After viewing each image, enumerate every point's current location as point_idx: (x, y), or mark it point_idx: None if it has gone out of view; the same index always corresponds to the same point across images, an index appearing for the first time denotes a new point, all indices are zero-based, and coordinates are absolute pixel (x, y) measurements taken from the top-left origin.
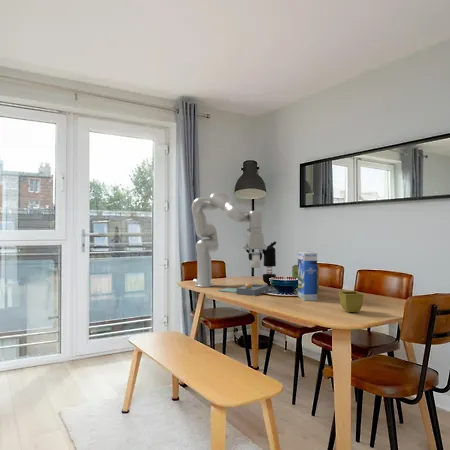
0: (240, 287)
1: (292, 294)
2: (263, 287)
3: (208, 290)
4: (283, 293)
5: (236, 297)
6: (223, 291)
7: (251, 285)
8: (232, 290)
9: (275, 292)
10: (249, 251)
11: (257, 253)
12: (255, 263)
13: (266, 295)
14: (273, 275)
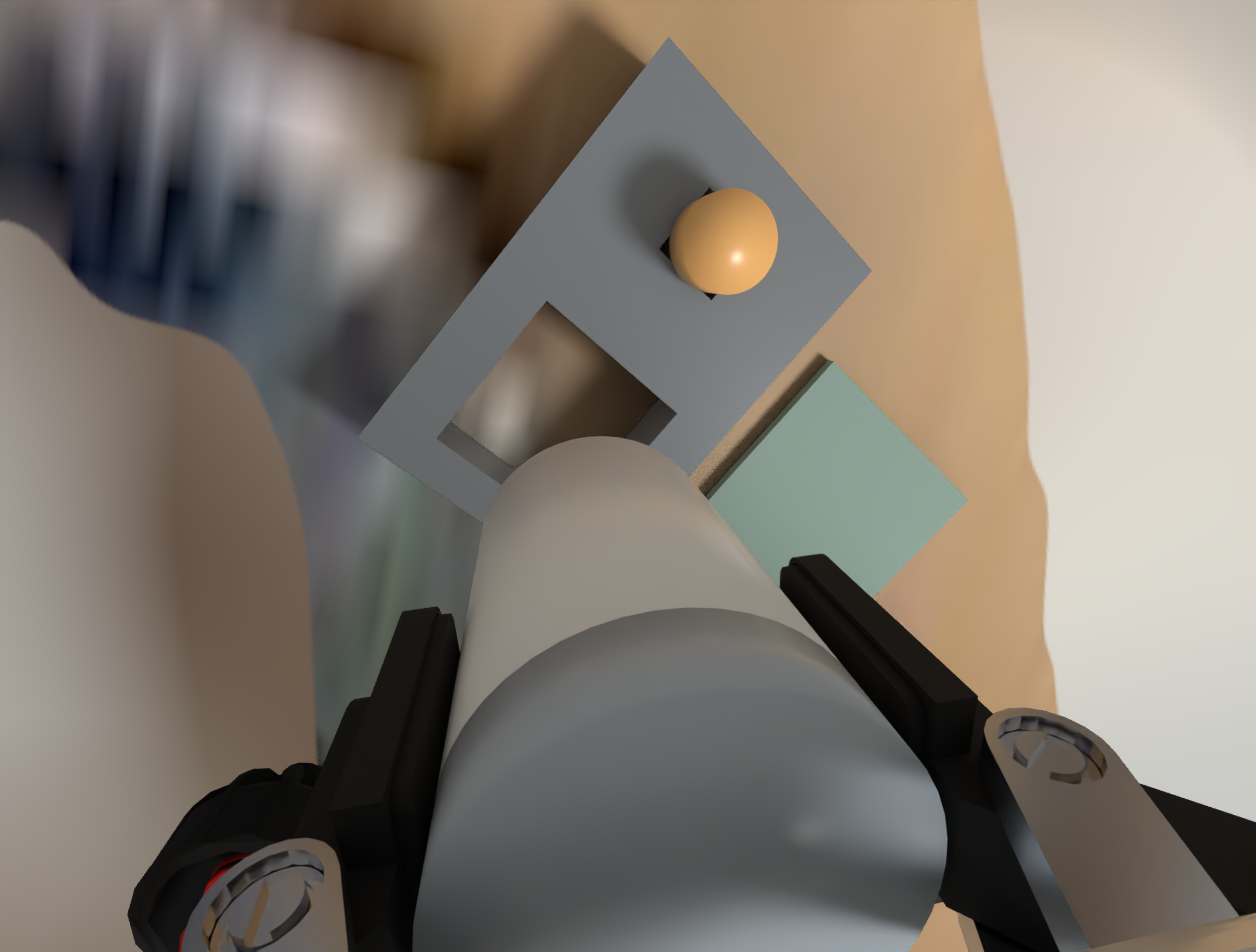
0: (803, 322)
1: (9, 38)
2: (466, 297)
3: (1028, 558)
4: (168, 176)
5: (903, 15)
6: (922, 456)
7: (682, 220)
8: (828, 464)
9: (289, 291)
10: (1156, 809)
11: (625, 679)
12: (640, 471)
13: (469, 62)
14: (180, 851)
